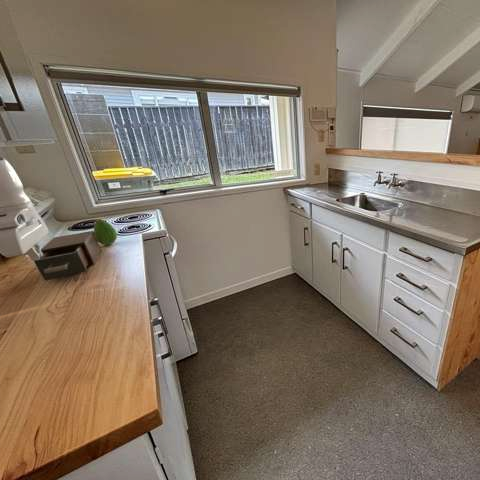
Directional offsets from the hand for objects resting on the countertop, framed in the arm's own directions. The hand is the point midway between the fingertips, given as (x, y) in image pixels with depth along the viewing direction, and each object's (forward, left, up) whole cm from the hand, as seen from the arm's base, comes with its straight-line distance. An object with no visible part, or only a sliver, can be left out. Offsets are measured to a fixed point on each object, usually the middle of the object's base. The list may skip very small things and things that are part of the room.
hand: (38, 258), depth 77 cm
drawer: (0, +16, -12) cm, 20 cm away
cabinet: (0, +27, -13) cm, 29 cm away
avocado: (+8, +42, -13) cm, 44 cm away
